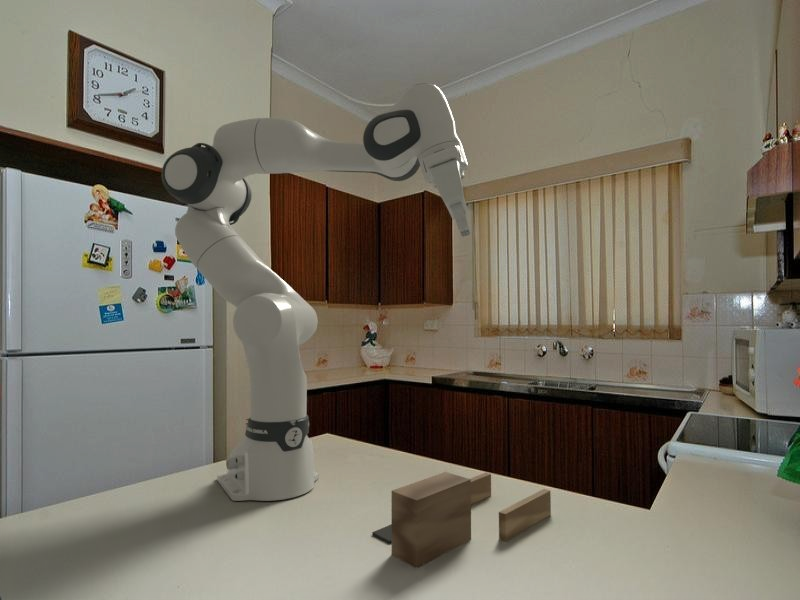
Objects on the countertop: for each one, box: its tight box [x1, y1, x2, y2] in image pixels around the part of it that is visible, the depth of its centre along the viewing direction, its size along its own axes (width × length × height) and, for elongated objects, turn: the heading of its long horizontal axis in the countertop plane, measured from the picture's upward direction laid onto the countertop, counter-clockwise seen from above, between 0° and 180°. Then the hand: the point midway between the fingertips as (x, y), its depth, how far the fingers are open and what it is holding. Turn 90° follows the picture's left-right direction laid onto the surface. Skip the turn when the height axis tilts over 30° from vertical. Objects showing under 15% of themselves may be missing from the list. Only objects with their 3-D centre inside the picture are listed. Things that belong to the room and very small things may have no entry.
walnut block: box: [391, 471, 472, 569], centre depth 67 cm, size 5×12×9 cm, turn 134°
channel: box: [470, 472, 552, 542], centre depth 78 cm, size 13×14×4 cm
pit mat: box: [371, 523, 392, 545], centre depth 71 cm, size 4×6×1 cm, turn 134°
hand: (465, 233), depth 88 cm, fingers open, 8 cm apart
